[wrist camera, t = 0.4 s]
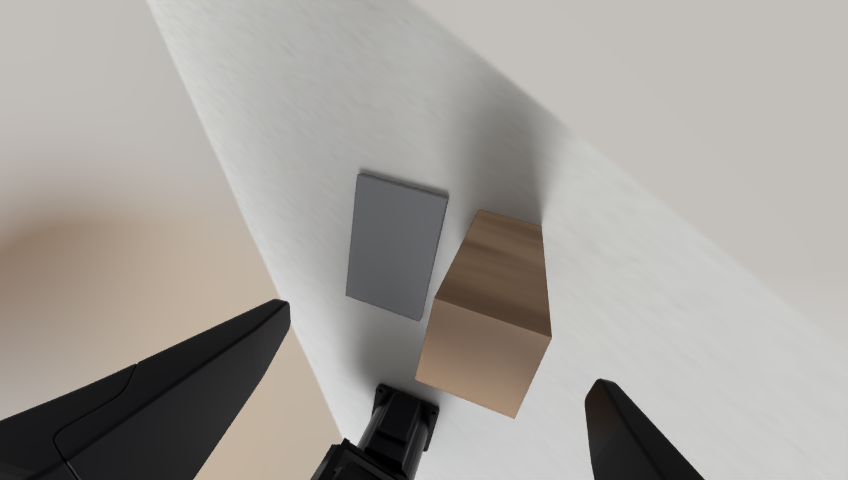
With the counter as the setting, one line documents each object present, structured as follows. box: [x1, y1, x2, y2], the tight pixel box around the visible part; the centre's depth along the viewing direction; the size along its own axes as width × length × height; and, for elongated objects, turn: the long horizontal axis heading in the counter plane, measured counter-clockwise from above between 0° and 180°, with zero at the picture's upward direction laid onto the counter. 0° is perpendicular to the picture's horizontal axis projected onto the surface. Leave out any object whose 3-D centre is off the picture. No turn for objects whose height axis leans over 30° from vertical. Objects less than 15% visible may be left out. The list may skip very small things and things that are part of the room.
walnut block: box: [415, 210, 552, 419], centre depth 18 cm, size 4×4×12 cm
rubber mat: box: [346, 174, 449, 322], centre depth 26 cm, size 11×7×1 cm, turn 170°
